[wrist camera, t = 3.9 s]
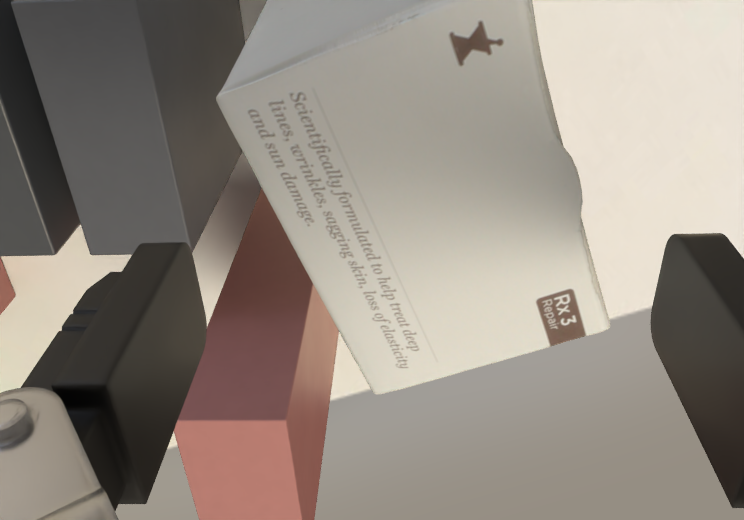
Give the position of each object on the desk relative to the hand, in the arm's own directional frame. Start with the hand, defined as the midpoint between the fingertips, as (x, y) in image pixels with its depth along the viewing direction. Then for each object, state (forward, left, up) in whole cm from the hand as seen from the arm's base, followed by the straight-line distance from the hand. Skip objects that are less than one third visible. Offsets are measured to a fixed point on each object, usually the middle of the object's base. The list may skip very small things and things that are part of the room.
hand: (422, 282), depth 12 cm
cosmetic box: (0, 0, -17) cm, 17 cm away
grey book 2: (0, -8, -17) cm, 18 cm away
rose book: (+9, -5, -17) cm, 19 cm away
